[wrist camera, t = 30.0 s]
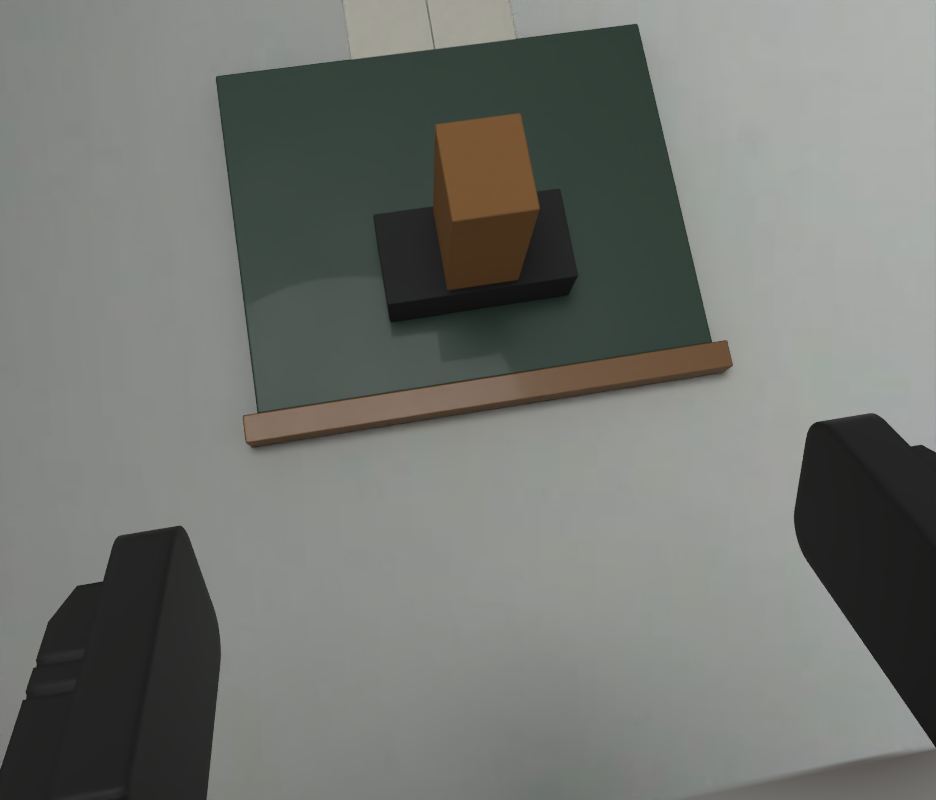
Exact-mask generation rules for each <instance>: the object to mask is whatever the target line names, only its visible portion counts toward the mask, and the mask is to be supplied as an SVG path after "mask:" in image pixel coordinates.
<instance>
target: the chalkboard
mask: <svg viewBox="0 0 936 800" xmlns="http://www.w3.org/2000/svg"><path fill="white" fill-rule="evenodd" d="M216 83H217V91H218V99H219V107H220V116H221V124H222V132H223V140H224V148H225V156H226V164H227V172H228V180H229V188H230V196H231V204H232V212H233V220H234V228H235V236H236V244H237V252H238V260H239V268H240V276H241V284H242V292H243V300H244V308H245V316H246V324H247V332H248V340H249V348H250V356H251V364H252V372H253V380H254V388H255V396H256V404H257V412H258V413H256V414H250V415H244V416H243V424H244V432H245V440H246V443H247V444H248V445H250V446H251V447H256V446H262V445H269V444H275V443H281V442H288V441H294V440H300V439H306V438H313V437H319V436H325V435H332V434H338V433H344V432H351V431H357V430H363V429H369V428H376V427H382V426H388V425H395V424H401V423H407V422H413V421H420V420H426V419H432V418H439V417H445V416H451V415H458V414H464V413H470V412H476V411H483V410H489V409H495V408H502V407H508V406H514V405H520V404H527V403H533V402H539V401H546V400H552V399H558V398H565V397H571V396H577V395H583V394H590V393H596V392H602V391H609V390H615V389H621V388H627V387H634V386H640V385H646V384H653V383H659V382H665V381H672V380H678V379H684V378H690V377H697V376H703V375H709V374H716V373H722V372H725V371H726V370H727V369H729V368H730V367H732V366H733V364H732V359H731V355H730V351H729V347H728V342H727V341H726V340H724V341H718V342H712V340H711V336H710V332H709V328H708V323H707V319H706V315H705V311H704V306H703V302H702V298H701V293H700V289H699V285H698V281H697V276H696V272H695V268H694V263H693V259H692V255H691V251H690V246H689V242H688V238H687V234H686V229H685V225H684V221H683V216H682V212H681V208H680V204H679V199H678V195H677V191H676V186H675V182H674V178H673V174H672V169H671V165H670V161H669V157H668V152H667V148H666V144H665V139H664V135H663V131H662V127H661V122H660V118H659V114H658V109H657V105H656V101H655V97H654V92H653V88H652V84H651V80H650V75H649V71H648V67H647V62H646V58H645V54H644V50H643V45H642V41H641V37H640V32H639V28H638V25H637V24H632V25H624V26H616V27H608V28H600V29H592V30H584V31H576V32H568V33H560V34H552V35H544V36H536V37H528V38H520V39H512V40H504V41H496V42H488V43H480V44H472V45H464V46H456V47H448V48H440V49H432V50H424V51H416V52H408V53H400V54H392V55H384V56H376V57H368V58H360V59H351V60H343V61H335V62H327V63H319V64H311V65H303V66H295V67H287V68H279V69H271V70H263V71H255V72H247V73H239V74H231V75H223V76H217V77H216ZM517 113H520V114H521V117H522V122H523V127H524V132H525V137H526V142H527V147H528V152H529V157H530V161H531V166H532V171H533V176H534V181H535V186H536V191H544V190H551V189H558V188H559V189H560V190H561V195H562V200H563V205H564V209H565V214H566V219H567V224H568V229H569V234H570V238H571V243H572V248H573V253H574V258H575V262H576V267H577V272H578V277H577V279H576V281H575V283H574V285H573V287H572V289H571V291H570V293H569V295H566V296H559V297H553V298H546V299H539V300H533V301H526V302H520V303H513V304H507V305H500V306H493V307H487V308H480V309H474V310H467V311H460V312H454V313H447V314H441V315H434V316H427V317H421V318H414V319H408V320H401V321H394V322H390V320H389V314H388V308H387V301H386V295H385V289H384V283H383V277H382V271H381V264H380V258H379V252H378V246H377V240H376V233H375V226H374V219H373V215H375V214H382V213H389V212H396V211H403V210H410V209H417V208H424V207H431V206H433V194H434V141H435V125H436V124H442V123H450V122H457V121H465V120H472V119H480V118H487V117H495V116H502V115H510V114H517Z"/></svg>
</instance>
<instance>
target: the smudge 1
mask: <svg viewBox="0 0 936 800" xmlns="http://www.w3.org/2000/svg"><path fill="white" fill-rule="evenodd" d="M342 2H343V9H344V15H345V22H346V29H347V35H348V42H349V49H350V55H351V59H360V58H368V57H376V56H384V55H392V54H400V53H408V52H416V51H424V50H432V49H434V45H433V40H432V34H431V28H430V22H429V16H428V10H427V5H426V0H342Z"/></svg>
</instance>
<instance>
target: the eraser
mask: <svg viewBox="0 0 936 800" xmlns="http://www.w3.org/2000/svg"><path fill="white" fill-rule="evenodd" d="M373 219H374V226H375V233H376V240H377V246H378V252H379V258H380V264H381V271H382V277H383V283H384V289H385V295H386V301H387V308H388V314H389V320H390V322H394V321H401V320H408V319H414V318H421V317H427V316H434V315H441V314H447V313H454V312H460V311H467V310H474V309H480V308H487V307H493V306H500V305H507V304H513V303H520V302H526V301H533V300H539V299H546V298H553V297H559V296H566V295H569V293H570V291H571V289H572V287H573V285H574V283H575V281H576V279H577V277H578V272H577V267H576V262H575V258H574V253H573V248H572V243H571V238H570V234H569V229H568V224H567V219H566V214H565V209H564V205H563V200H562V195H561V190H560V189H559V188H558V189H551V190H544V191H536V186H535V181H534V176H533V171H532V166H531V161H530V157H529V152H528V147H527V142H526V137H525V132H524V127H523V122H522V117H521V114H520V113H517V114H510V115H502V116H495V117H487V118H480V119H472V120H465V121H457V122H450V123H442V124H436V125H435V141H434V194H433V206H431V207H424V208H417V209H410V210H403V211H396V212H389V213H382V214H375V215H373Z"/></svg>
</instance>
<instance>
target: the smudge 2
mask: <svg viewBox="0 0 936 800" xmlns="http://www.w3.org/2000/svg"><path fill="white" fill-rule="evenodd" d="M426 1H427V7H428V13H429V19H430V24H431V30H432V36H433V42H434V48H435V49H440V48H448V47H456V46H464V45H472V44H480V43H488V42H496V41H504V40H512V39H517V38H516V32H515V27H514V22H513V17H512V12H511V7H510V2H509V0H426Z"/></svg>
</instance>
